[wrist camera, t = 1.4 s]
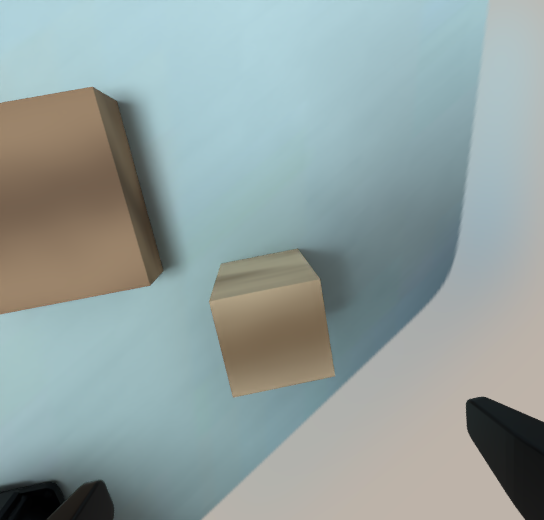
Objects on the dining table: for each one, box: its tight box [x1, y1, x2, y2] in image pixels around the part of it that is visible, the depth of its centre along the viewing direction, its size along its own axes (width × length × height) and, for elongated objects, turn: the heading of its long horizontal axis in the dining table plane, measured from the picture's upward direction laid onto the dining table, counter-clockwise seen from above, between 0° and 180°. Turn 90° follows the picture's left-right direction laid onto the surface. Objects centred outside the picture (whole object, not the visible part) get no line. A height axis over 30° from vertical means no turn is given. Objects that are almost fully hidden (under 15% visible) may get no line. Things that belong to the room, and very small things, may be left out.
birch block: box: [209, 249, 335, 397], centre depth 16 cm, size 4×4×6 cm
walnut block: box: [0, 87, 163, 314], centre depth 16 cm, size 9×9×3 cm
